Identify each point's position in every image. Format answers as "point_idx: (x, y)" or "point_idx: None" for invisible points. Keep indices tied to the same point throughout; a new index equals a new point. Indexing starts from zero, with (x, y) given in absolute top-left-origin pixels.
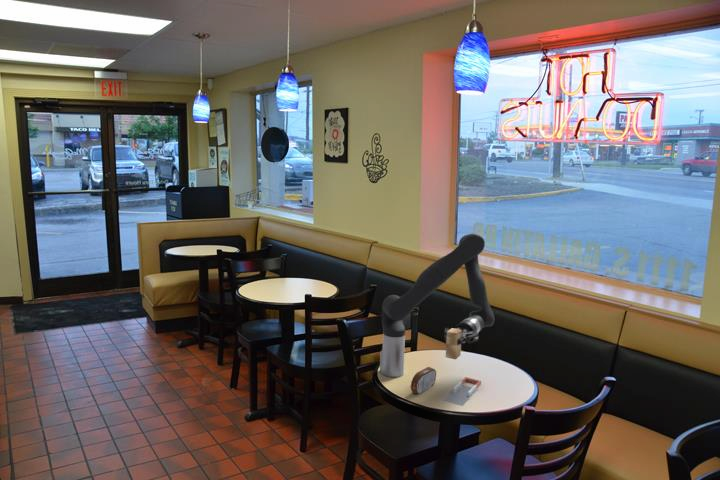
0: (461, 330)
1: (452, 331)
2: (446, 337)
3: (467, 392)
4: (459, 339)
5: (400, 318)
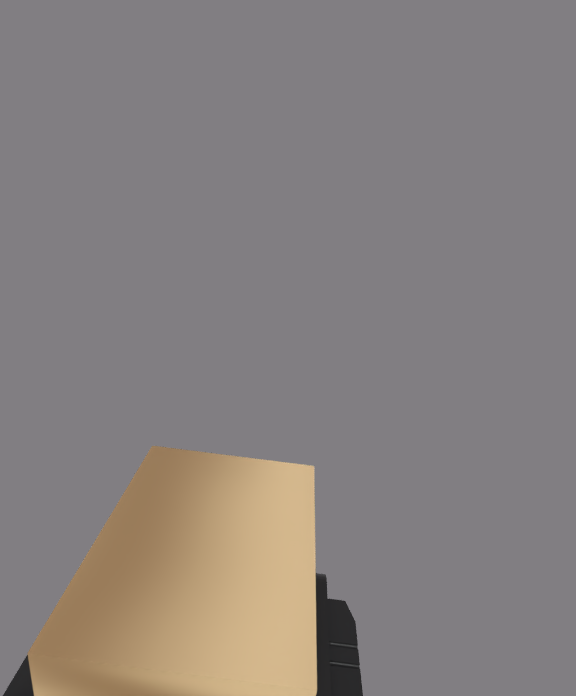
0: (51, 614)
1: (238, 492)
2: None
3: None
4: None
5: None
